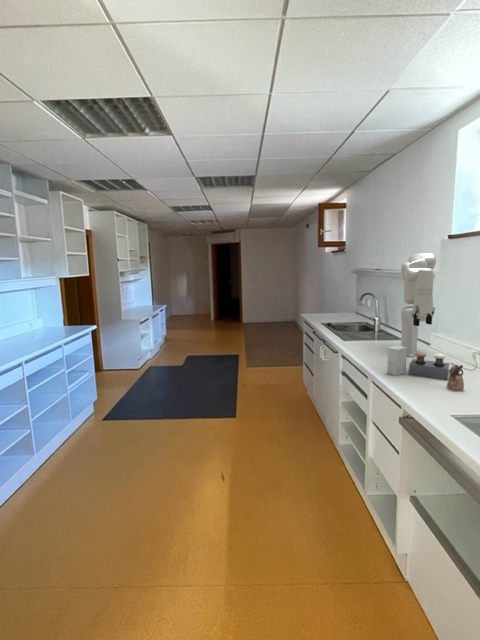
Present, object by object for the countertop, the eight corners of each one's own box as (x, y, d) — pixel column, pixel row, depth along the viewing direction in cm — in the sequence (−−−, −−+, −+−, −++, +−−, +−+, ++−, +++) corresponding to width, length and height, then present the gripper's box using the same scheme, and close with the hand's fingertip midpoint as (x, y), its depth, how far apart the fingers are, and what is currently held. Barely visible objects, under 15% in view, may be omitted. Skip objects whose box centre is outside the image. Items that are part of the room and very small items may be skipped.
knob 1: (415, 364, 200) (416, 351, 199) (425, 365, 197) (426, 352, 196) (414, 366, 196) (415, 353, 195) (424, 367, 193) (425, 354, 192)
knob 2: (433, 366, 195) (434, 353, 194) (444, 367, 192) (445, 354, 191) (432, 369, 191) (433, 355, 190) (443, 370, 188) (444, 356, 187)
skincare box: (397, 370, 202) (398, 345, 200) (406, 373, 197) (407, 347, 195) (386, 373, 199) (387, 346, 196) (395, 376, 193) (396, 349, 191)
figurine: (446, 385, 178) (448, 361, 176) (463, 387, 174) (465, 363, 172) (446, 389, 172) (447, 365, 170) (463, 392, 168) (465, 367, 166)
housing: (412, 369, 205) (412, 358, 204) (448, 373, 195) (449, 363, 194) (408, 374, 195) (409, 364, 194) (447, 380, 185) (447, 368, 184)
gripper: (428, 291, 195) (427, 322, 198) (406, 292, 188) (405, 325, 190) (442, 292, 189) (439, 324, 191) (419, 293, 181) (417, 327, 184)
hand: (422, 324), depth 191 cm, fingers open, 9 cm apart
